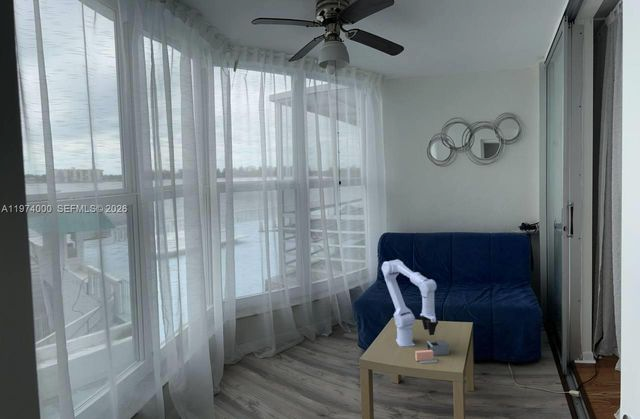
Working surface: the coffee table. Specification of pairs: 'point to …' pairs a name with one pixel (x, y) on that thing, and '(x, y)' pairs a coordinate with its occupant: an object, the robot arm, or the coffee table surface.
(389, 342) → the coffee table surface
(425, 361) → the pad
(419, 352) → the salmon pink brick
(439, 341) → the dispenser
